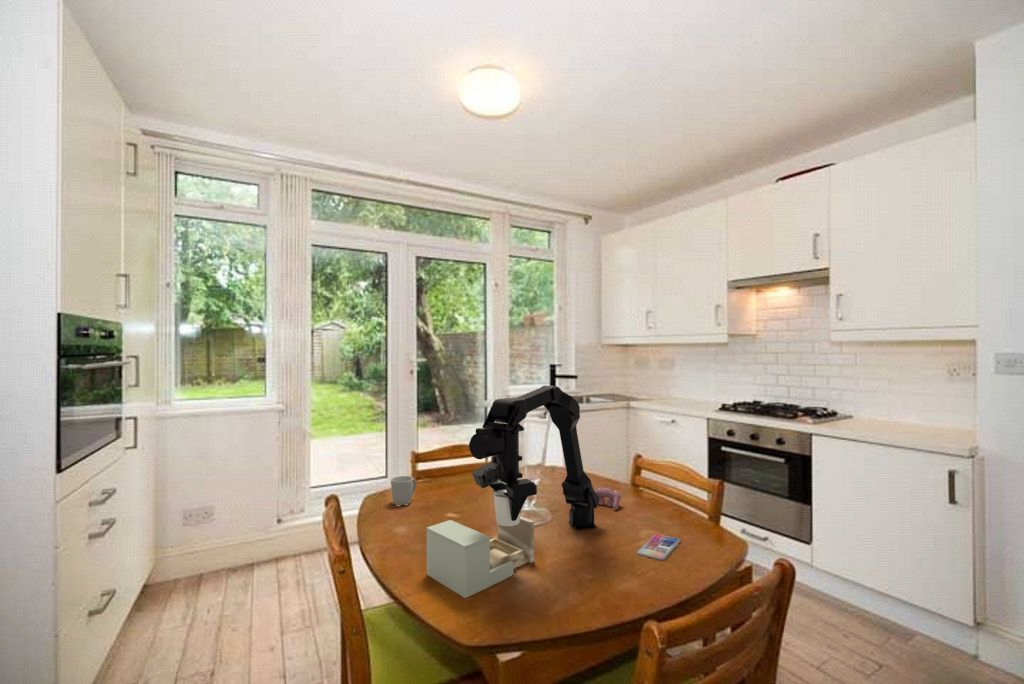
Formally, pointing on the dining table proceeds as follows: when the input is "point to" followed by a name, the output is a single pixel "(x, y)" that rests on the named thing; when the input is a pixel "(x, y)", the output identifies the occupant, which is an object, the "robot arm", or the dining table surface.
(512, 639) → the dining table surface
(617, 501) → the video game controller
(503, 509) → the grey and white tumbler
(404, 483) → the cup
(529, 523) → the drawer
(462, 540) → the caddy
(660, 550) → the smartphone
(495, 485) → the robot arm
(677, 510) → the dining table surface
